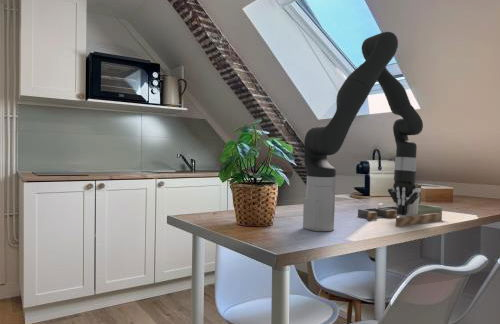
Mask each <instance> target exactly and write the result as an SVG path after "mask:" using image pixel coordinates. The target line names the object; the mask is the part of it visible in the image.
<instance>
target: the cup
mask: <svg viewBox="0 0 500 324" xmlns="http://www.w3.org/2000/svg"><path fill="white" fill-rule="evenodd" d="M415 189H416V190H417V191H418V192H421V193H422V188H421V189H420V188H415ZM411 196H412V194H411V195H410V197H411ZM419 198H420V196H419V197H418V198H417V199H416V200H415V202H414V203H413V204H410V205H408V206H407V214H406V215H399V216H398V218H399V217H407V216H415V215H417V214H418V206H419Z"/></svg>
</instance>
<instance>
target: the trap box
mask: <svg viewBox="0 0 500 324" xmlns="http://www.w3.org/2000/svg"><path fill="white" fill-rule="evenodd" d="M397 214H399V213H398V207H396V205H395V206H393V205H389V206H379V207H369V208H368V207H367V208H360V209H357V217H360V218H365V219H366V220H367V221H376V220H378V219H377V215H378V216H383V217H386V218H387V219H391V218H392V219H393V218H395V227H405V226H412V225H417V224H425V223H432V222H438V221H439V220H440V221H442V219H443V207H442V206H437V205H428V204H423V203H422V204H421V203H420V204H419V206H418V214H417V215H415V216H407V217H399V216H397ZM386 218H385V219H386ZM440 221H439V222H440Z"/></svg>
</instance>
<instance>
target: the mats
mask: <svg viewBox="0 0 500 324" xmlns="http://www.w3.org/2000/svg"><path fill="white" fill-rule="evenodd" d="M397 217H399V214H397ZM378 219H386V217H383V216H378V215H377V220H378Z"/></svg>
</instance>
